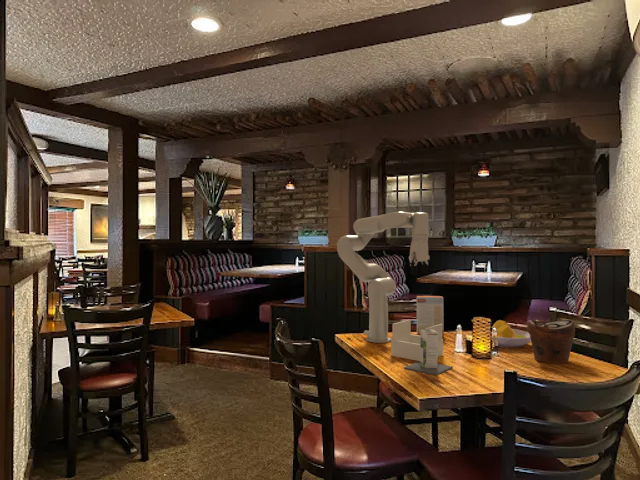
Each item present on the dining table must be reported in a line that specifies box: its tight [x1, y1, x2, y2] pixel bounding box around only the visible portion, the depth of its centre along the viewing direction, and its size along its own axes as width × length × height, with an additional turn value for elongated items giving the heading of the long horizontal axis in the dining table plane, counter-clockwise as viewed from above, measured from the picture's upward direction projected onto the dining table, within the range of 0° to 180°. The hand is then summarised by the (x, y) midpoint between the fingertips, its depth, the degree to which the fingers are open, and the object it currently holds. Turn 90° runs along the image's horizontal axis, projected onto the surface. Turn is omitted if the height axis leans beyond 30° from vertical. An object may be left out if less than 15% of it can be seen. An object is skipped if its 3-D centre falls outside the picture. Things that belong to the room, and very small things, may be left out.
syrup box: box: [420, 329, 439, 368], centre depth 188 cm, size 6×6×14 cm
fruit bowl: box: [470, 319, 531, 348], centre depth 233 cm, size 28×27×11 cm
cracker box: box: [416, 295, 445, 336], centre depth 256 cm, size 14×6×21 cm, turn 84°
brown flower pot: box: [526, 319, 576, 365], centre depth 202 cm, size 18×20×18 cm
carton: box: [390, 319, 444, 362], centre depth 209 cm, size 17×17×14 cm
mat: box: [403, 361, 454, 376], centre depth 188 cm, size 14×14×1 cm
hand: (419, 273), depth 226 cm, fingers open, 9 cm apart
